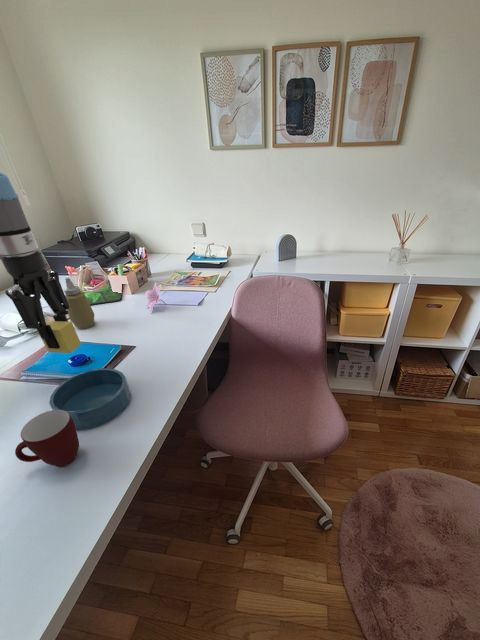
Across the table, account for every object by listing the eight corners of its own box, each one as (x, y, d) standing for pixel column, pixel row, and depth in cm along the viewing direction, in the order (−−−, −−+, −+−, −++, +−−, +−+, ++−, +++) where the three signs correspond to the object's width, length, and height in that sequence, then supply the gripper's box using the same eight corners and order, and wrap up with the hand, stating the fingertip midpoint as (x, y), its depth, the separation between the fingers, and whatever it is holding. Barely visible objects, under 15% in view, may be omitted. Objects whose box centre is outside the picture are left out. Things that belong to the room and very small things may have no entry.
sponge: (48, 352, 79) (36, 329, 75) (60, 343, 83) (49, 320, 79) (70, 353, 78) (59, 330, 74) (81, 344, 82) (71, 321, 78)
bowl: (41, 426, 69) (31, 410, 66) (86, 380, 83) (79, 366, 80) (107, 433, 67) (100, 417, 64) (142, 385, 81) (138, 370, 78)
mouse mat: (121, 300, 128) (121, 298, 128) (64, 309, 122) (63, 306, 122) (123, 280, 150) (123, 278, 149) (74, 286, 144) (74, 284, 143)
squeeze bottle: (94, 318, 115) (77, 272, 105) (100, 325, 110) (83, 278, 100) (71, 325, 111) (51, 277, 101) (76, 333, 106) (56, 284, 96)
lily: (150, 303, 128) (135, 288, 121) (174, 291, 127) (160, 275, 119) (151, 322, 121) (136, 308, 114) (177, 310, 120) (162, 294, 112)
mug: (28, 491, 56) (2, 456, 50) (28, 460, 61) (4, 426, 56) (90, 463, 61) (72, 428, 55) (85, 437, 66) (68, 403, 61)
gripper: (1, 265, 59) (50, 362, 72) (62, 243, 73) (94, 327, 86) (-32, 265, 60) (22, 360, 73) (35, 243, 74) (70, 325, 87)
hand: (61, 342), depth 79 cm, fingers closed on sponge, 4 cm apart
